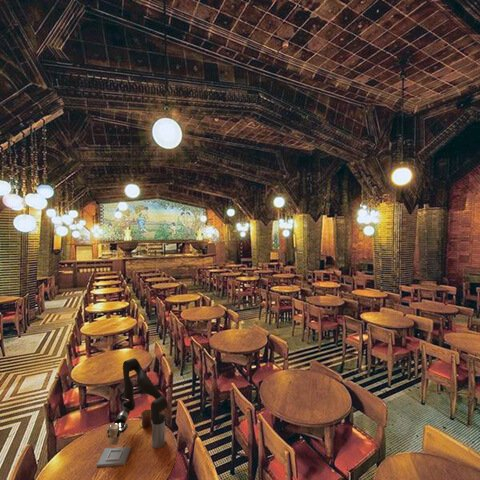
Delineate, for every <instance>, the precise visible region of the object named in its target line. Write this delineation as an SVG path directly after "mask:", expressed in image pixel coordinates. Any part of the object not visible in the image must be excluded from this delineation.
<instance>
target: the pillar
mask: <svg viewBox="0 0 480 480" xmlns="http://www.w3.org/2000/svg"><path fill="white" fill-rule="evenodd" d="M110 426H111V427H110V429H109V441H108V445H109V446H115V445H118V443H119V441H120V436H118V437H117V433H118V431H119V424H114V423H113V424H110Z"/></svg>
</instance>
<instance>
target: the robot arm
mask: <svg viewBox="0 0 480 480" xmlns="http://www.w3.org/2000/svg"><path fill="white" fill-rule="evenodd" d="M133 371H134V372H135V373H136V377H137V378H136V383H137V386H138V388H139V390H140V391H141V392H143V394H147V395H149V396H151V397H152V398H154V400H153V401H152V402H151V403H150V410H151V418H152V423H151V446H152V448H154V449H159V448H162V447H164V446H165V443H166V416H165V414H164V413H162V412H163V411H165V410H166V409H167V408H168V407H169V405H168V404H169V403H168V400H167V398H166V397H165V396H164V395H163V394H162V393H161V392H160V390H159V389H158V388H157V387H156V385H155V384H154V383H153V381H152V380H151V379H150V377H149V376H148V375H147V373H146V372H145V370H144V369H143V367H142V366H141V364H140V362H139V360H138V359H137V358H135V357H133V358H129V359H126V360H124V362H123V363H122V375H123V376H122V377H123V383H124V385H123V386H124V389H123V390H124V393H123V398H124V399H126V400H125V401H123V402H122V403H121V405H120V411H119V413H118V415H117V416H116V418H115V420H114V422H113V424H119V431H118V433H117V437H118V436H119V437H120V435H121V434H125V432H126V430H128V428H129V427H128V425H129V424H128V423H127V420H128V418H129V415H130V413H131V412H132V411H134V410H135V407H136V401H135V398H134V397H135V396H134V390H135V389H134V388H135V387H134V384H133V382H132V380H131V378H130V372H133ZM110 427H111V424H108V425H107V429H106V431H107V432H106V433H107V438H109V429H110Z"/></svg>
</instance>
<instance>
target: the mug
mask: <svg viewBox="0 0 480 480" xmlns="http://www.w3.org/2000/svg"><path fill="white" fill-rule="evenodd" d="M140 416H141V425H142V427H143V428H145V429H147V428H149V427H150V426H152V418H151V408H149V409H144V410H143V411H141V412H140Z"/></svg>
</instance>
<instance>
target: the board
mask: <svg viewBox="0 0 480 480" xmlns="http://www.w3.org/2000/svg"><path fill="white" fill-rule="evenodd" d="M131 450H132V446H120V447H108V448H107V447H106V448H104V449H103V452H102V453H101V455H100V457H99V460H98V461H97V463H96V467H99V468H100V467H111V466H125V465H126V463H127V461H128V460H127V459H128V458H129V454H130V452H131Z"/></svg>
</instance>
